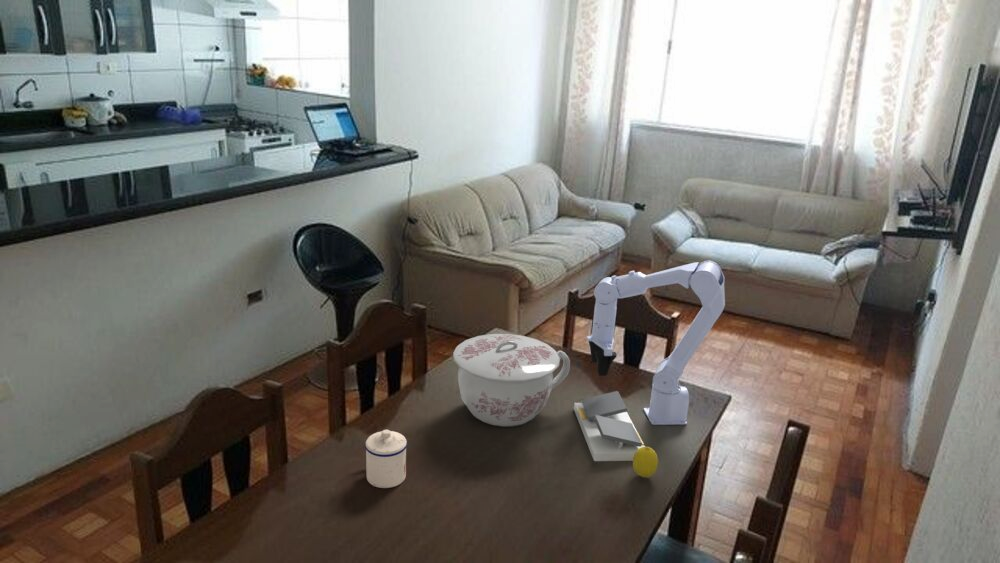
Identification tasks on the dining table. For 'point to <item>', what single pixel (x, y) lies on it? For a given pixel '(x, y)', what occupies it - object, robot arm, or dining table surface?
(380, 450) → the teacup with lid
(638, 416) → the dining table surface
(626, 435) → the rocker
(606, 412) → the rocker
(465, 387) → the chamber pot
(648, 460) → the lemon
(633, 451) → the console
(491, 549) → the dining table surface
